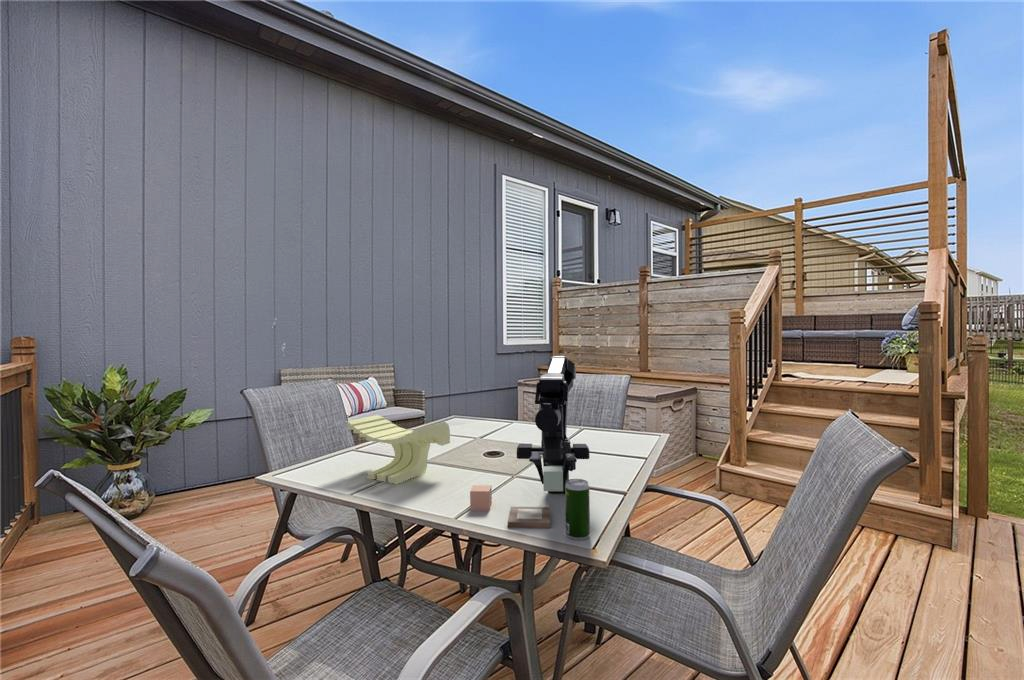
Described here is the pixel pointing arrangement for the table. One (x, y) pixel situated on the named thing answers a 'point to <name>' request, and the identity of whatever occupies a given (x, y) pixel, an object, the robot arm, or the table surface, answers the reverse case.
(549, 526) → the tower base
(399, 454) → the slatted curved stool
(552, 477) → the brick sage
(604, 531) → the table surface
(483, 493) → the dusty pink cube
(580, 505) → the beer can
